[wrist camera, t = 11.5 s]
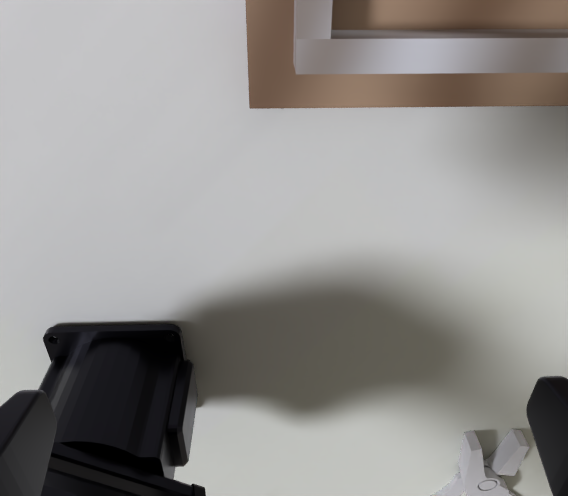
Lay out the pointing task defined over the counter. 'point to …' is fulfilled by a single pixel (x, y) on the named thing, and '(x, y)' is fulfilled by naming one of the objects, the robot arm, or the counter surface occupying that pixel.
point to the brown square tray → (407, 53)
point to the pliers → (486, 466)
